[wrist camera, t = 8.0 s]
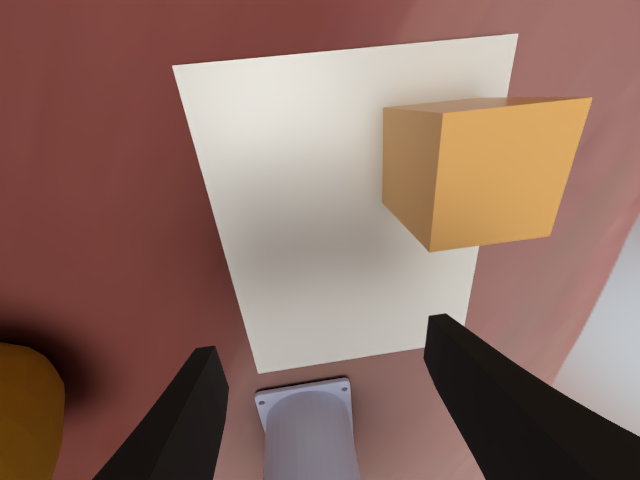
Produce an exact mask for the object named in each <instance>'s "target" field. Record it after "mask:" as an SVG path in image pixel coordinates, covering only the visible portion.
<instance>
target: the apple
mask: <svg viewBox="0 0 640 480" xmlns="http://www.w3.org/2000/svg"><path fill="white" fill-rule="evenodd" d="M64 407H65V390H64V383H63V381H62V379H61V378H60V376H59V374H58V372H57V371H56V369H55V368H54V366H53V365H52V364H51V362H50V361H49V360H48V359H47V358H46V357H45V356H44V355H42V354H40V353H39V352H37V351H35V350H33V349H32V348H30V347H26V346H20V345H14V344H8V343H1V342H0V480H52V477H53V473H54V470H55V466H56V463H57V460H58V456H59V453H60V449H61V444H62V437H63V422H64Z"/></svg>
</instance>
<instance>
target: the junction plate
mask: <svg viewBox="0 0 640 480" xmlns="http://www.w3.org/2000/svg"><path fill="white" fill-rule="evenodd" d="M517 39H518V34H508V35H497V36H486V37H476V38H465V39H454V40H443V41H433V42H422V43H411V44H400V45H390V46H379V47H368V48H357V49H347V50H336V51H325V52H314V53H304V54H293V55H282V56H271V57H261V58H250V59H239V60H228V61H218V62H207V63H196V64H185V65H175V66H172V67H173V71H174V75H175V78H176V82H177V85H178V89H179V92H180V96H181V100H182V103H183V107H184V110H185V114H186V117H187V121H188V125H189V128H190V132H191V135H192V139H193V142H194V146H195V150H196V153H197V157H198V160H199V164H200V167H201V171H202V175H203V178H204V182H205V185H206V189H207V192H208V196H209V200H210V203H211V207H212V210H213V214H214V217H215V221H216V225H217V228H218V232H219V235H220V239H221V242H222V246H223V250H224V253H225V257H226V260H227V264H228V267H229V271H230V275H231V278H232V282H233V285H234V289H235V292H236V296H237V300H238V303H239V307H240V310H241V314H242V317H243V321H244V325H245V328H246V332H247V335H248V339H249V342H250V346H251V350H252V353H253V357H254V360H255V364H256V367H257V371H258V374H260V373H266V372H273V371H279V370H285V369H291V368H298V367H304V366H310V365H316V364H323V363H329V362H335V361H341V360H348V359H354V358H360V357H367V356H373V355H379V354H385V353H392V352H398V351H404V350H410V349H417V348H423V347H425V342H426V334H427V326H428V317H429V316H430V315H437V314H444V313H446V314H448V315H449V316H450V317H452V318H453V319H455V320H456V321H457V322H459V323H460V324H461V325H463V326H464V325H465V319H466V314H467V309H468V303H469V298H470V292H471V287H472V282H473V276H474V271H475V265H476V260H477V255H478V249H479V246H474V247H466V248H459V249H452V250H444V251H437V252H430V253H429V252H428V251H427V249H426V248H425V247H424V246H423V245H422V244H421V243H420V242H419V241H418V240H417V239H416V238H415V237H414V236H413V235H412V234H411V233H410V231H409V230H408V229H407V228H406V227H405V226H404V225H403V224H402V223H401V222H400V221H399V220H398V219H397V218H396V217H395V216H394V215H393V213H392V212H391V211H390V210H389V209H388V208H387V207H386V206H385V205H384V204H383V203H382V175H383V108H384V107H394V106H403V105H413V104H422V103H432V102H441V101H451V100H461V99H470V98H499V97H507V93H508V87H509V82H510V77H511V71H512V66H513V60H514V55H515V50H516V44H517Z"/></svg>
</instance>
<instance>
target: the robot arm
mask: <svg viewBox="0 0 640 480" xmlns="http://www.w3.org/2000/svg"><path fill="white" fill-rule="evenodd" d="M424 361H425V363H426V366H427V368H428V371H429V373H430V376H431V378H432V380H433V382H434V385H435V387H436V389H437V391H438V393H439V395H440V397H441V398H442V400H443V402H444V404H445V406H446V408H447V409H448V411H449V413H450V415H451V417H452V418H453V420H454V422H455V424H456V426H457V427H458V429H459V431H460V433H461V434H462V436H463V438H464V440H465V442H466V443H467V445H468V447H469V449H470V451H471V452H472V454H473V456H474V458H475V460H476V462H477V464H478V465H479V467H480V469H481V471H482V473H483V475H484V477H485V479H486V480H640V437H639V436H637V435H636V434H633V433H632V432H630V431H628V430H626V429H624V428H622V427H620V426H618V425H617V424H615V423H613V422H611V421H609V420H607V419H605V418H604V417H602V416H600V415H598V414H597V413H595V412H593V411H591V410H590V409H588V408H586V407H585V406H583V405H581V404H579V403H578V402H576V401H574V400H572V399H570V398H569V397H567V396H565V395H564V394H562V393H561V392H559V391H557V390H556V389H554V388H553V387H551V386H549V385H548V384H546V383H545V382H543V381H542V380H540V379H539V378H537V377H535V376H534V375H532V374H531V373H529V372H528V371H526V370H525V369H523V368H522V367H520V366H519V365H517V364H516V363H514V362H513V361H511V360H510V359H508V358H507V357H506V356H504V355H503V354H501V353H500V352H499V351H497V350H496V349H494V348H493V347H491V346H490V345H489V344H487V343H486V342H485V341H483V340H482V339H480V338H479V337H478V336H476V335H475V334H474V333H472V332H471V331H470V330H468V329H467V328H466V327H464V326H463V325H461V324H460V323H459V322H457V321H456V320H455V319H453V318H452V317H450V316H449V315H448V314H446V313H444V314H437V315H430V316H429V317H428V326H427V334H426V342H425V350H424ZM228 391H229V386H228V383H227V380H226V377H225V374H224V371H223V368H222V365H221V362H220V359H219V356H218V353H217V350H216V347H215V346H209V347H202V348H196V349H195V350H194V351H193V353H192V354H191V355H190V357H189V358H188V360H187V361H186V362H185V364H184V365H183V366H182V368H181V369H180V371H179V372H178V373H177V375H176V376H175V377H174V379H173V380H172V382H171V383H170V384H169V386H168V387H167V388H166V390H165V391H164V392H163V394H162V395H161V396H160V398H159V399H158V400H157V401H156V403H155V404H154V405H153V407H152V408H151V409H150V411H149V412H148V413H147V415H146V416H145V417H144V418H143V420H142V421H141V422H140V423H139V425H138V426H137V427H136V428H135V429H134V431H133V432H132V433H131V434H130V436H129V437H128V438H127V439H126V440H125V442H124V443H123V444H122V445H121V447H120V448H119V449H118V450H117V451H116V453H115V454H114V455H113V456H112V457H111V458H110V460H109V461H108V462H107V463H106V464H105V465H104V467H103V468H102V469H101V470H100V471H99V472H98V473H97V474H96V476H95V477H94V478H93V479H92V480H213V476H214V472H215V467H216V463H217V458H218V454H219V449H220V444H221V440H222V435H223V430H224V425H225V420H226V411H227V402H228ZM255 403H256V406H257V409H258V412H259V416H260V419H261V422H262V425H263V429H264V432H265V451H264V469H263V480H362V479H361V475H360V470H359V465H358V460H357V455H356V450H355V445H354V437H353V421H352V406H351V390H350V381H349V379H348V378H338V379H332V380H326V381H320V382H314V383H307V384H301V385H295V386H289V387H283V388H277V389H271V390H265V391H259V392H257V393H256V394H255Z"/></svg>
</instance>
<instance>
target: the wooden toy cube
mask: <svg viewBox="0 0 640 480" xmlns="http://www.w3.org/2000/svg"><path fill="white" fill-rule="evenodd" d="M592 98H593V97H499V98H470V99H461V100H451V101H441V102H432V103H422V104H413V105H403V106H394V107H384V108H383V175H382V203H383V204H384V205H385V206H386V207H387V208H388V209H389V210H390V211H391V212H392V213H393V215H394V216H395V217H396V218H397V219H398V220H399V221H400V222H401V223H402V224H403V225H404V226H405V227H406V228H407V229H408V230H409V231H410V233H411V234H412V235H413V236H414V237H415V238H416V239H417V240H418V241H419V242H420V243H421V244H422V245H423V246H424V247H425V248H426V249H427V251H428V252H429V253H430V252H437V251H444V250H452V249H459V248H466V247H474V246H481V245H488V244H495V243H503V242H510V241H517V240H524V239H532V238H539V237H546V236H550V234H551V230H552V227H553V224H554V221H555V218H556V214H557V211H558V208H559V205H560V201H561V198H562V195H563V192H564V188H565V185H566V182H567V179H568V176H569V172H570V169H571V166H572V163H573V159H574V156H575V153H576V150H577V146H578V143H579V140H580V137H581V134H582V130H583V127H584V124H585V121H586V117H587V114H588V111H589V108H590V104H591V101H592Z"/></svg>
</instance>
